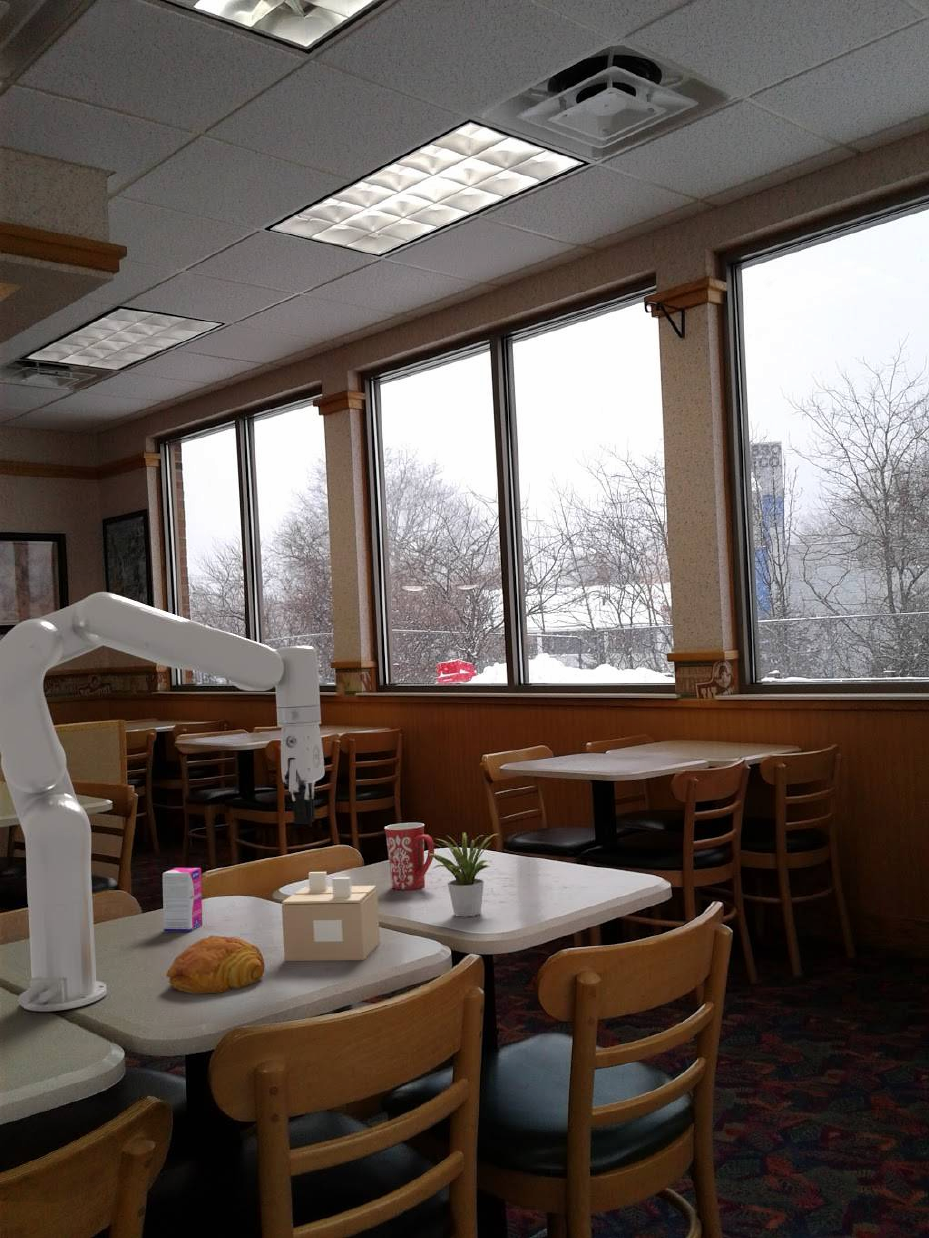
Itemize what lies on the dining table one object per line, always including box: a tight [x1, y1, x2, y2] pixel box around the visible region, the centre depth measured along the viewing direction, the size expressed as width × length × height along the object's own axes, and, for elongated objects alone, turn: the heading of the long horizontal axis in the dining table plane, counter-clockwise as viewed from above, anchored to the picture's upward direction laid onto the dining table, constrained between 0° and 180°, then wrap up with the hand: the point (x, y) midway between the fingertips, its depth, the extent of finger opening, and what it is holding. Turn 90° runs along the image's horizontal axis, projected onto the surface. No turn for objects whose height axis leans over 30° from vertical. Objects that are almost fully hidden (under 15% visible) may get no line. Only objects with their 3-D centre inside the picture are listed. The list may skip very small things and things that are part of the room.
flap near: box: [281, 876, 367, 905], centre depth 188 cm, size 5×14×4 cm, turn 80°
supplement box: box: [162, 867, 203, 933], centre depth 215 cm, size 6×6×12 cm
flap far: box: [293, 871, 377, 895], centre depth 195 cm, size 5×14×4 cm, turn 80°
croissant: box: [165, 935, 266, 995], centre depth 177 cm, size 14×16×8 cm
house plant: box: [424, 831, 501, 917], centre depth 215 cm, size 14×14×16 cm
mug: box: [383, 822, 435, 891], centre depth 241 cm, size 13×9×14 cm
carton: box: [281, 888, 381, 962], centre depth 191 cm, size 11×14×10 cm
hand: (304, 822), depth 189 cm, fingers closed
